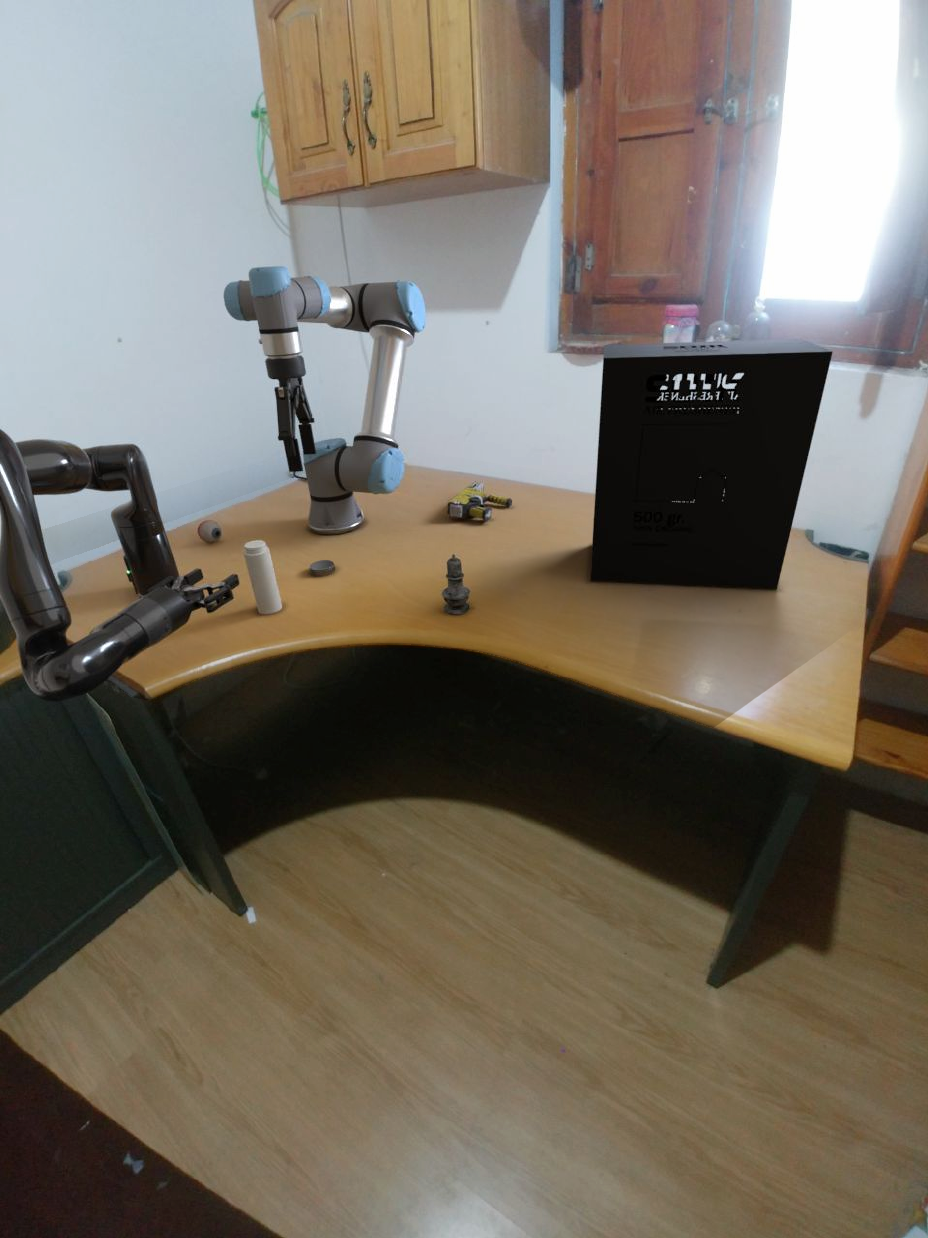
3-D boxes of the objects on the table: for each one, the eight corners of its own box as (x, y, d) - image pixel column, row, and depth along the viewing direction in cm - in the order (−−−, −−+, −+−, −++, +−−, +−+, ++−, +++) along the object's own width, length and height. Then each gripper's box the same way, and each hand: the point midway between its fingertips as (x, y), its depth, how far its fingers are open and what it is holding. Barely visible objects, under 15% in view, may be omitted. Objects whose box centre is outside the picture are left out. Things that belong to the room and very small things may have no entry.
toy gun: (520, 486, 181) (473, 479, 185) (498, 510, 161) (445, 501, 165) (519, 501, 183) (472, 494, 187) (496, 526, 163) (445, 518, 167)
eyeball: (211, 547, 159) (205, 526, 156) (196, 543, 162) (190, 522, 159) (229, 539, 163) (224, 518, 160) (214, 536, 166) (209, 515, 164)
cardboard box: (756, 549, 141) (800, 338, 118) (776, 589, 124) (832, 351, 101) (592, 544, 148) (604, 344, 126) (590, 580, 131) (603, 357, 109)
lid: (336, 565, 146) (335, 559, 145) (333, 575, 141) (332, 569, 140) (313, 566, 146) (311, 560, 145) (308, 577, 141) (307, 570, 140)
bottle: (253, 613, 127) (236, 548, 119) (265, 602, 131) (250, 538, 123) (275, 615, 126) (259, 549, 118) (286, 603, 130) (271, 539, 122)
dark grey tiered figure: (468, 615, 121) (465, 561, 115) (439, 614, 122) (435, 559, 116) (473, 601, 126) (471, 548, 120) (446, 600, 127) (442, 547, 121)
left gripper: (179, 604, 96) (244, 561, 109) (112, 592, 101) (183, 553, 113) (192, 644, 100) (254, 598, 112) (128, 631, 104) (194, 588, 117)
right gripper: (280, 349, 131) (299, 448, 141) (246, 365, 109) (271, 480, 120) (315, 347, 131) (330, 446, 141) (287, 363, 109) (308, 478, 120)
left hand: (218, 575), depth 113 cm, fingers open, 8 cm apart
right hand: (303, 462), depth 131 cm, fingers open, 13 cm apart
